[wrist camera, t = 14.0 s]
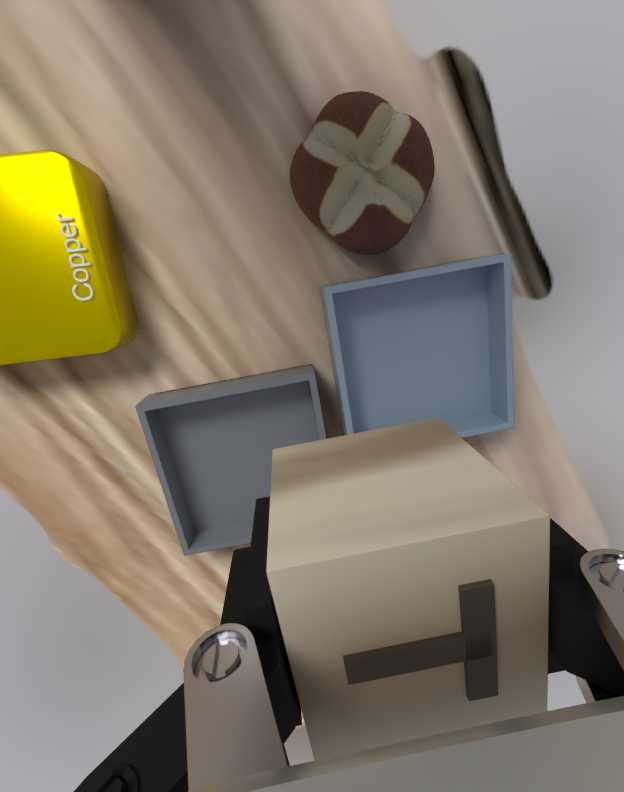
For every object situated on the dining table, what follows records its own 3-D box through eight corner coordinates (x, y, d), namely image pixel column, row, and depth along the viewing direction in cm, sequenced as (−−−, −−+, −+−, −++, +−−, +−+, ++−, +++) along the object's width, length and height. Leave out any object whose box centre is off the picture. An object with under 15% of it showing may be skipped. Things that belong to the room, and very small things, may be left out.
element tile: (144, 342, 36) (124, 351, 32) (-19, 362, 36) (-64, 374, 31) (101, 162, 32) (71, 143, 27) (-86, 181, 31) (-149, 165, 27)
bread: (367, 275, 36) (381, 274, 31) (269, 187, 33) (268, 172, 28) (450, 173, 34) (478, 155, 29) (354, 70, 31) (367, 32, 26)
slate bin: (319, 286, 36) (323, 287, 32) (488, 256, 36) (510, 253, 33) (345, 443, 40) (351, 458, 37) (494, 415, 41) (514, 427, 37)
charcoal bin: (148, 394, 37) (135, 406, 34) (311, 364, 38) (314, 372, 34) (192, 533, 42) (184, 555, 39) (336, 505, 42) (341, 525, 39)
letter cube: (272, 449, 11) (266, 577, 6) (438, 417, 11) (554, 519, 7) (303, 587, 13) (317, 775, 8) (449, 557, 13) (550, 726, 8)
